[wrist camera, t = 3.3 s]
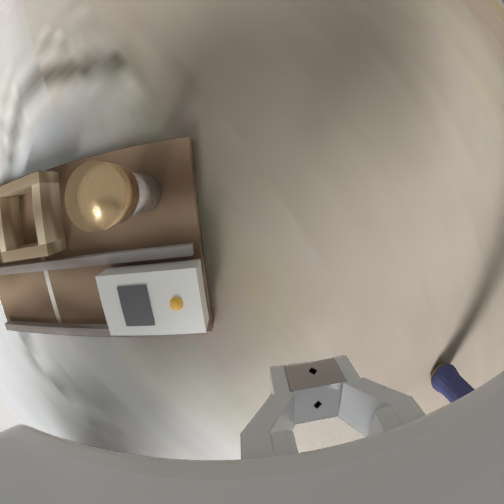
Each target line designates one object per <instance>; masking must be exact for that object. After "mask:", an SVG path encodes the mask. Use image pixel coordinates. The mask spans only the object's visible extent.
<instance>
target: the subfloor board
mask: <svg viewBox="0 0 504 504" xmlns="http://www.w3.org/2000/svg"><path fill="white" fill-rule="evenodd" d="M92 160H98V161H103V162H108V163H113V164H118V165H122V166H124V167H126V168H128V169H129V170H130V171H131V172H133V173H139V174H145V175H150V176H152V177H154V178H155V179H156V180H157V181H158V182H159V184H160V186H161V189H162V197H161V201H160V203H159V204H158V206H157V207H156V208H155V209H154V210H152V211H150V212H147V213H143V214H139V215H135V216H131V217H130V218H129V219H128V220H127V221H126V222H124V223H122V224H120V225H117V226H114V227H111V228H107V229H104V230H101V231H98V232H86V231H83V230H81V229H80V228H78V227H77V226H76V225H75V224H74V223H73V222H72V221H71V219H70V218H69V216H68V214H67V211H66V207H65V189H66V185H67V182H68V180H69V178H70V176H71V175H72V173H73V172H74V171H75V169H76V168H78V167H79V166H80V165H81V164H83V163H85V162H88V161H92ZM46 171H54V172H58V173H59V189H60V201H61V210H62V219H63V226H64V233H65V239H66V245H67V249H65V250H62V251H60V252H57V253H55V254H52V255H50V256H45V257H38V258H31V259H24V260H18V261H11V262H4V263H3V260H2V255H1V250H0V299H1V302H2V305H3V309H4V312H5V315H6V318H7V321H8V322H7V323H5V326H6V328H7V330H12V331H21V332H31V333H43V334H56V335H74V336H106V337H142V336H176V335H196V334H205V333H192V334H171V335H128V336H117V335H111V334H110V331H109V328H108V324H107V321H106V317H105V314H104V310H103V307H102V303H101V299H100V295H99V291H98V287H97V283H96V278H95V276H97V275H98V274H100V273H101V272H103V271H104V270H106V269H107V268H111V267H121V266H132V265H142V264H153V263H163V262H174V261H184V260H194V259H200V260H201V268H202V275H203V282H204V289H205V296H206V302H207V308H208V315H209V321H208V326H207V331H212V328H213V318H212V312H211V305H210V299H209V292H208V285H207V278H206V270H205V263H204V255H203V247H202V239H201V230H200V222H199V212H198V203H197V193H196V182H195V171H194V158H193V145H192V139H191V138H190V137H189V136H188V137H181V138H175V139H169V140H163V141H157V142H152V143H147V144H142V145H137V146H132V147H128V148H123V149H119V150H115V151H111V152H106V153H103V154H99V155H95V156H91V157H88V158H84V159H81V160H77V161H74V162H71V163H67V164H64V165H61V166H58V167H55V168H52V169H49V170H46ZM19 204H20V214H21V223H22V230H23V237H24V243H25V245H27V244H33V243H38V239H37V233H36V226H35V218H34V209H33V198H32V191H31V192H28V193H25V194H22V195H20V196H19Z"/></svg>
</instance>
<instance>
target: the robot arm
mask: <svg viewBox="0 0 504 504" xmlns="http://www.w3.org/2000/svg"><path fill="white" fill-rule="evenodd" d="M269 370H270V385H271V395H270V396H269V397H268V399H267V400H266V402H265V403H264V404H263V406H262V407H261V408H260V409H259V411H258V412H257V413H256V415H255V416H254V417H253V419H252V420H251V421H250V422H249V424H248V425H247V426H246V427H245V429H244V430H243V431H242V432H241V434H240V437H241V460H181V459H167V458H156V457H147V456H140V455H133V454H127V453H121V452H115V451H110V450H105V449H101V448H96V447H92V446H88V445H84V444H80V443H77V442H73V441H70V440H66V439H63V438H60V437H57V436H54V435H51V434H48V433H45V432H42V431H40V430H37V429H35V428H32V427H30V426H27V425H22V424H19V425H16V426H13V427H11V428H9V429H7V430H4V431H2V432H0V504H504V371H503V372H502V373H500V374H499V375H497V376H496V377H494V378H493V379H491V380H490V381H488V382H487V383H485V384H483V385H482V386H480V387H478V388H477V389H475V390H473V391H472V392H470V393H468V394H467V395H465V396H463V397H461V398H459V399H457V400H456V401H454V402H452V403H450V404H448V405H446V406H444V407H442V408H440V409H438V410H436V411H434V412H431V413H429V414H427V415H425V413H424V412H423V411H422V409H421V408H420V407H419V405H418V404H417V403H416V401H415V400H414V399H413V397H411V396H409V395H406V394H403V393H401V392H398V391H396V390H393V389H391V388H388V387H386V386H383V385H381V384H378V383H376V382H374V381H371V380H369V379H366V378H364V377H363V378H360V377H359V375H358V373H357V372H356V370H355V369H354V367H353V366H352V364H351V362H350V361H349V359H348V358H347V356H346V355H341V356H337V357H333V358H329V359H324V360H319V361H313V362H305V363H298V364H289V365H281V366H273V367H270V369H269ZM336 416H338V418H340V419H341V420H343V421H344V422H345V423H347V424H348V425H350V426H351V427H353V428H354V429H355V430H357V431H358V432H360V433H361V434H363V435H364V436H366V437H365V438H362V439H359V440H355V441H352V442H348V443H344V444H340V445H336V446H332V447H327V448H323V449H318V450H313V451H308V452H302V453H298V450H297V446H296V442H295V438H294V434H293V432H292V430H293V428H294V426H295V424H300V423H305V422H310V421H315V420H321V419H326V418H331V417H336Z"/></svg>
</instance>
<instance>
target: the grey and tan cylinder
mask: <svg viewBox="0 0 504 504" xmlns="http://www.w3.org/2000/svg"><path fill="white" fill-rule="evenodd" d="M161 197H162V189H161V186H160V184H159V182H158V181H157V180H156V179H155V178H154V177H152V176H150V175H145V174H139V173H133V172H131V171H130V170H129V169H128V168H126V167H124V166H122V165H118V164H113V163H108V162H103V161H98V160H92V161H88V162H85V163H83V164H81V165H80V166H79V167H78V168H76V169H75V171H74V172H73V173H72V175H71V176H70V178H69V180H68V182H67V185H66V189H65V207H66V211H67V214H68V216H69V218H70V219H71V221H72V222H73V223H74V224H75V225H76V226H77V227H78V228H80V229H81V230H83V231H86V232H98V231H101V230H104V229H107V228H111V227H114V226H117V225H120V224H122V223H124V222H126V221H127V220H128V219H129V218H130V217H131V216H135V215H139V214H143V213H147V212H150V211H152V210H154V209H155V208H156V207H157V206H158V204H159V203H160V201H161Z"/></svg>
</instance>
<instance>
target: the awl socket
mask: <svg viewBox="0 0 504 504" xmlns="http://www.w3.org/2000/svg"><path fill="white" fill-rule="evenodd" d="M31 191H32V198H33V209H34V218H35V226H36V233H37V239H38V243H33V244H27V245H25V243H24V237H23V230H22V223H21V214H20V204H19V196H20V195H22V194H25V193H28V192H31ZM65 249H67V245H66V239H65V233H64V226H63V219H62V210H61V201H60V189H59V173H58V172H54V171H37V172H34V173H31V174H29V175H26V176H24V177H21V178H19V179H16V180H14V181H12V182H9V183H7V184H5V185H2V186H0V250H1V255H2V260H3V263H4V262H11V261H18V260H24V259H31V258H38V257H45V256H50V255H52V254H55V253H57V252H60V251H62V250H65Z"/></svg>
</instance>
